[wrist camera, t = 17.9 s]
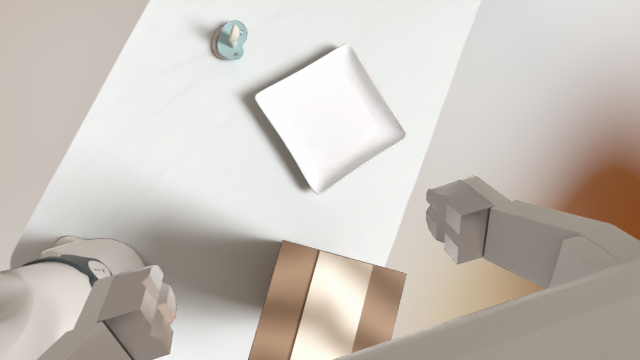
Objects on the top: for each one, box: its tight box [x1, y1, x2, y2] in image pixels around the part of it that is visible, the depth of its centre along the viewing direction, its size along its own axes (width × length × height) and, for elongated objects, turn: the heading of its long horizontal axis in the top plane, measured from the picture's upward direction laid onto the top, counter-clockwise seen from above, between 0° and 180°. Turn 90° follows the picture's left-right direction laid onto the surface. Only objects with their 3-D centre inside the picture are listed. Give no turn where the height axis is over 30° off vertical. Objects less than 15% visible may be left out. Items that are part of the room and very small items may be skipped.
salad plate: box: [255, 44, 407, 194], centre depth 63 cm, size 21×21×3 cm
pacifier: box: [212, 20, 247, 60], centre depth 59 cm, size 7×6×6 cm
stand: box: [248, 240, 407, 360], centre depth 48 cm, size 15×14×26 cm
